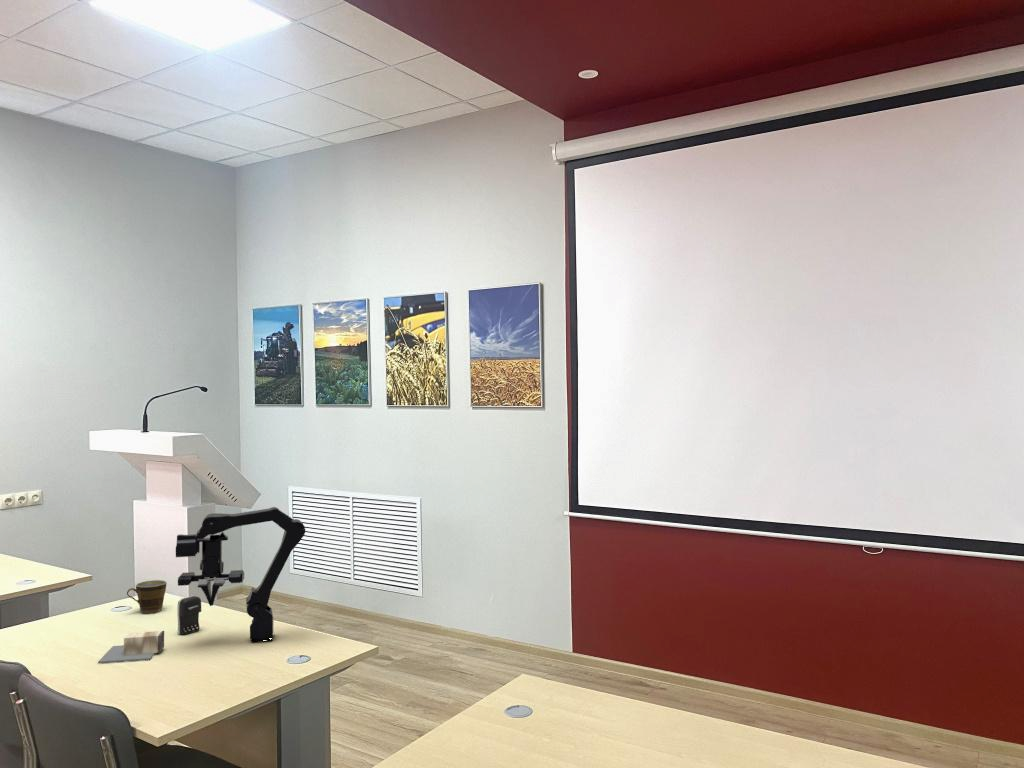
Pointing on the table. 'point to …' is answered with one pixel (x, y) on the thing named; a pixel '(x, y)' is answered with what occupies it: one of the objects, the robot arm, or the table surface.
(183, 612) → the battery charger
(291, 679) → the table surface
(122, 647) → the mat
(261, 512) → the robot arm
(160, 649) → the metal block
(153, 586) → the ceramic cup
